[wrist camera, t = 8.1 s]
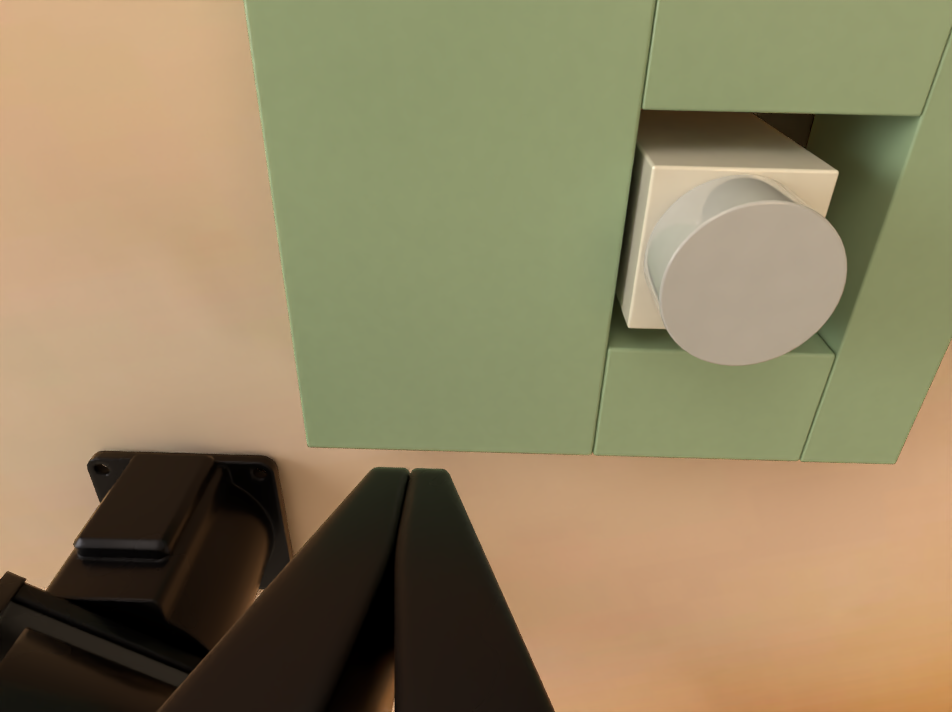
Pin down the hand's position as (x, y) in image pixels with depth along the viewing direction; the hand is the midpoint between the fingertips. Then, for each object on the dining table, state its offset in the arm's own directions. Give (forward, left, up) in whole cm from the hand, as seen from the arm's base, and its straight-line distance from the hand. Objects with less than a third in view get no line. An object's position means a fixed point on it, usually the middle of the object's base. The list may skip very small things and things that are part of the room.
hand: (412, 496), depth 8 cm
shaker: (0, -4, -9) cm, 10 cm away
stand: (0, -4, -13) cm, 13 cm away
